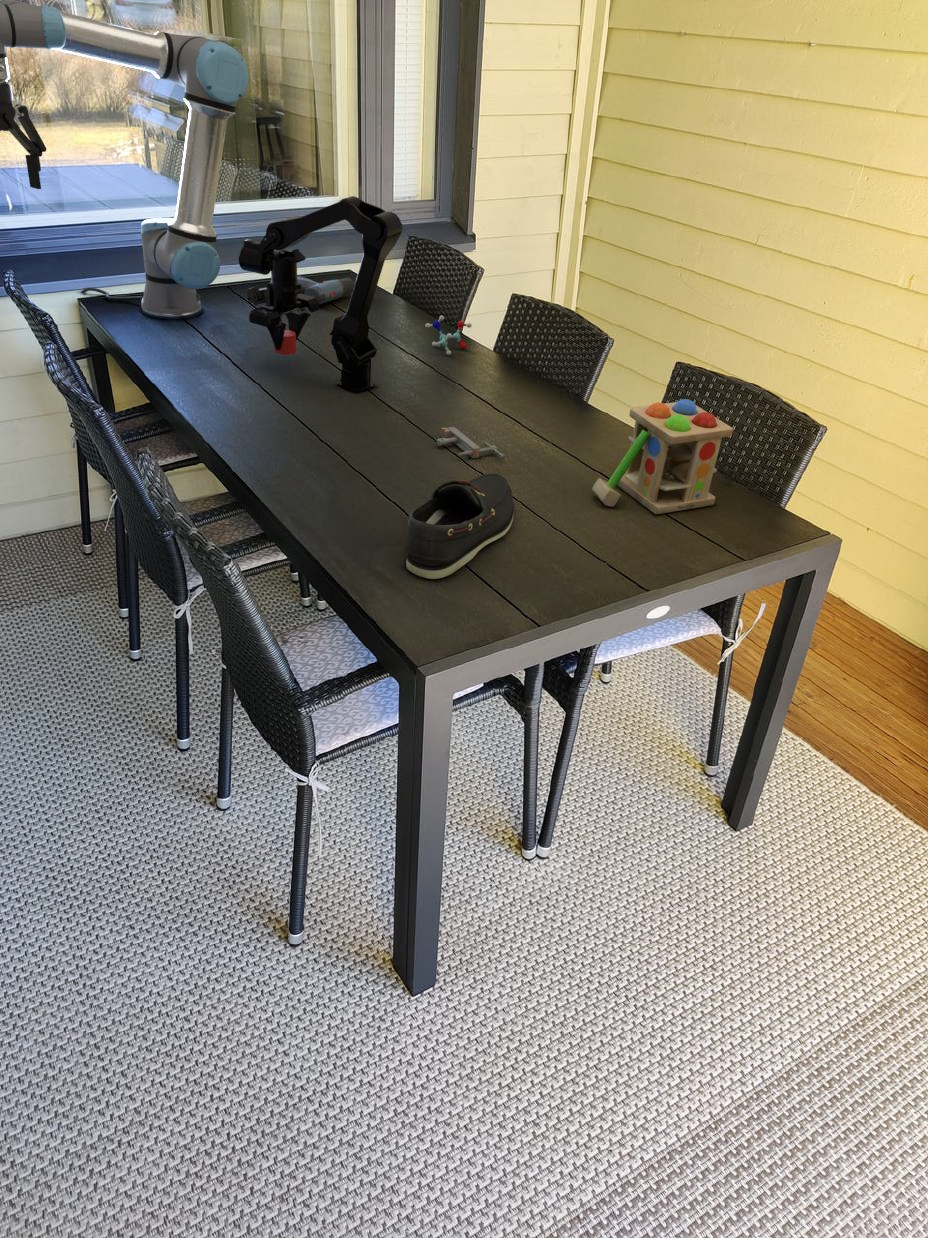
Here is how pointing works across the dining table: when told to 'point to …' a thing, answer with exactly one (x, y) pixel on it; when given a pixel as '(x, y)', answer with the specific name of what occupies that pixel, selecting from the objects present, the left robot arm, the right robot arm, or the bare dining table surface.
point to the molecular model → (448, 335)
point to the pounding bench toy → (668, 458)
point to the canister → (288, 343)
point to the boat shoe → (457, 524)
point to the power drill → (325, 288)
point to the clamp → (464, 443)
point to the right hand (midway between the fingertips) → (285, 346)
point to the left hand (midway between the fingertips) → (9, 191)
